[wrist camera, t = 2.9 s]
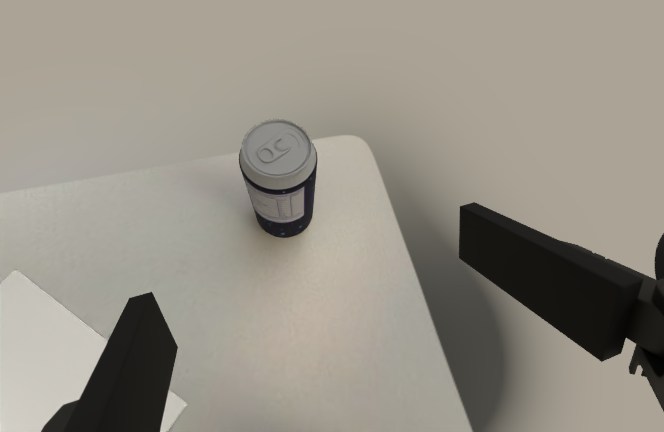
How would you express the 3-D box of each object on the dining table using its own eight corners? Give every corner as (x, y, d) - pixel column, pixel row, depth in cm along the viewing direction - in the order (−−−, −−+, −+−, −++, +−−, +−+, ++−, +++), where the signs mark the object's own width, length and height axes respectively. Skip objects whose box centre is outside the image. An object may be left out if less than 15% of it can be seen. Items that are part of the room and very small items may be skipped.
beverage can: (323, 220, 33) (334, 155, 22) (278, 251, 31) (265, 198, 20) (291, 181, 34) (287, 102, 23) (246, 209, 33) (219, 138, 22)
